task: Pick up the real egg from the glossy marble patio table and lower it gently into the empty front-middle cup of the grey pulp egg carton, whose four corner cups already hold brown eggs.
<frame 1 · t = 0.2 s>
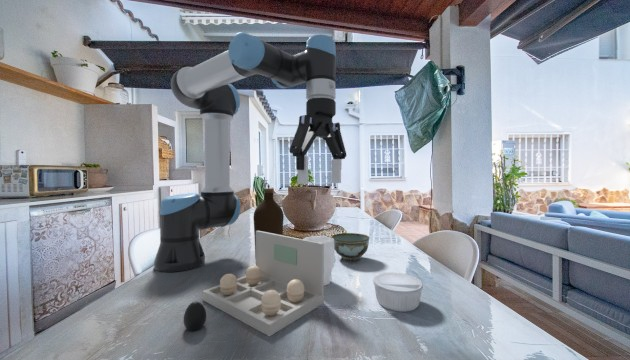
hand: (320, 183, 70), 28 cm above the table, fingers open, 13 cm apart
ramekin: (397, 303, 64), on the table
carton: (261, 302, 64), on the table
olive oil: (268, 258, 98), on the table
bowl: (350, 259, 97), on the table
cup: (318, 282, 76), on the table
egg: (195, 328, 53), on the table
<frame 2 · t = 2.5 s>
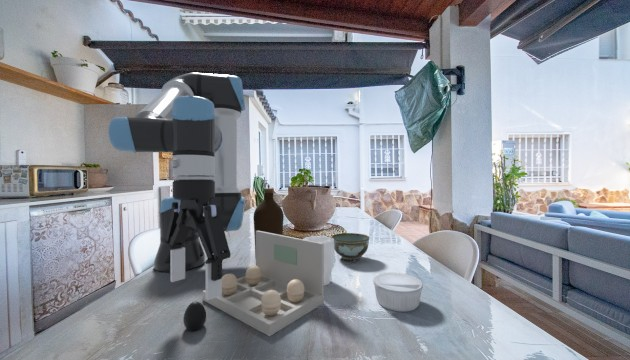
hand: (194, 288, 53), 8 cm above the table, fingers open, 13 cm apart
nothing on the table moved.
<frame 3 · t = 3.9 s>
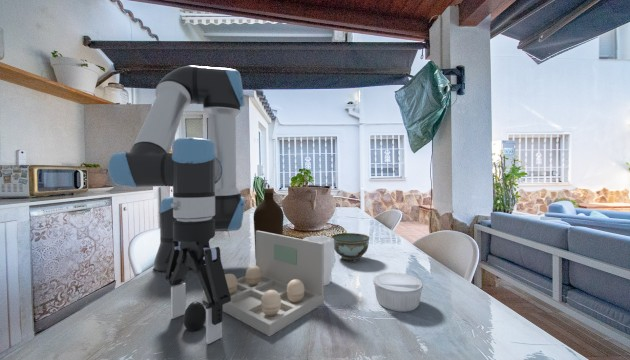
hand: (194, 327, 53), 0 cm above the table, fingers open, 13 cm apart
nothing on the table moved.
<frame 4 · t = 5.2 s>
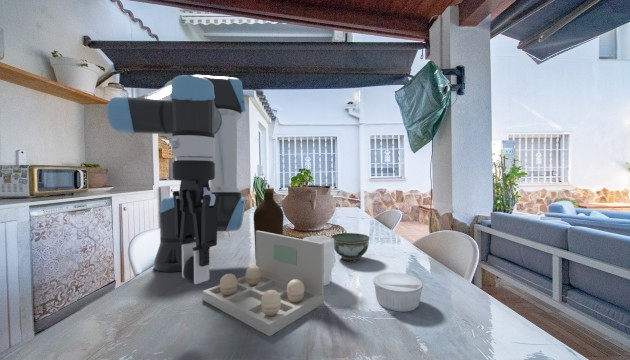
hand: (195, 278, 54), 9 cm above the table, fingers closed on egg, 4 cm apart
egg: (194, 281, 54), point 9 cm above the table, touching gripper
everything else where it was.
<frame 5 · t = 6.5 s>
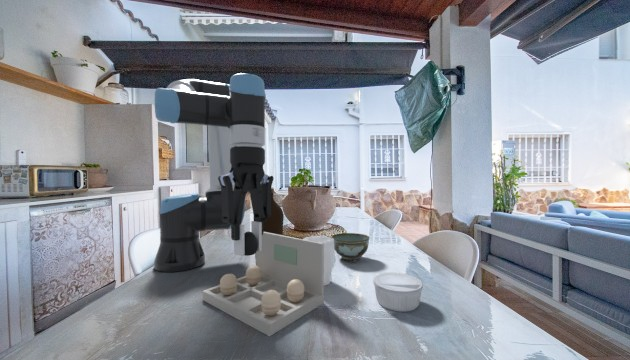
hand: (248, 252, 60), 13 cm above the table, fingers closed on egg, 4 cm apart
egg: (248, 254, 60), point 12 cm above the table, touching gripper
everything else where it was.
when the fingers open (3 cm above the table, at t = 7.8 s): egg drops 1 cm, resting on carton.
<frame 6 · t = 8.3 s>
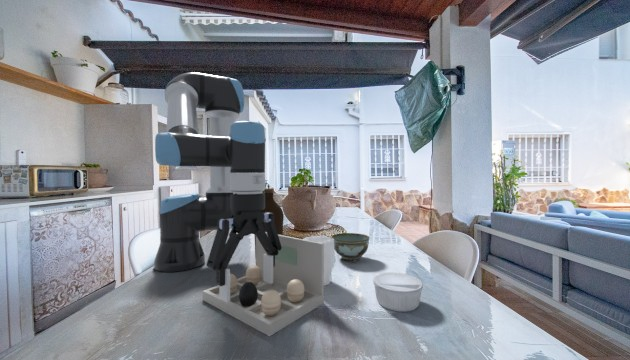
hand: (248, 290, 61), 4 cm above the table, fingers open, 11 cm apart
egg: (248, 304, 61), point 1 cm above the table, touching carton
everything else where it was.
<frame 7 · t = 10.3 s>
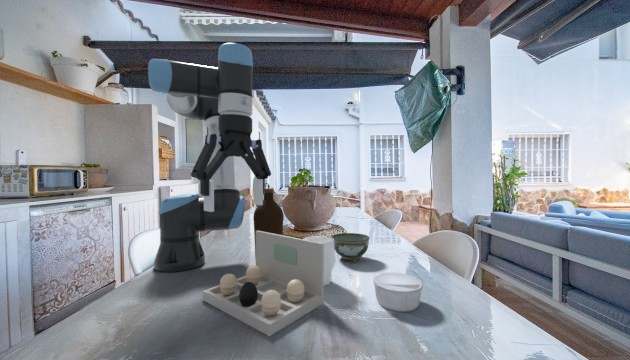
hand: (235, 207, 64), 22 cm above the table, fingers open, 13 cm apart
nothing on the table moved.
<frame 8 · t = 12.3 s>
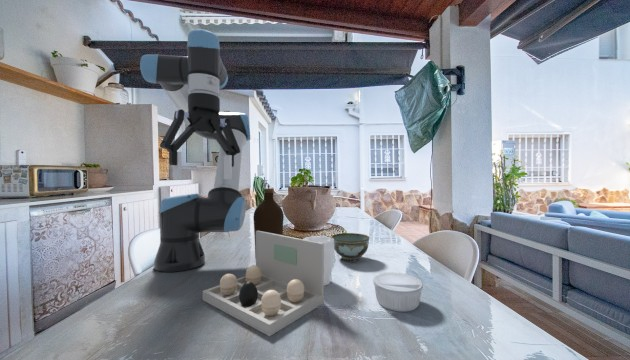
hand: (204, 179, 69), 29 cm above the table, fingers open, 13 cm apart
nothing on the table moved.
at the end: egg inside the target area (0.1 cm from its centre), point 0.8 cm above the table; the gripper is holding nothing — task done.
